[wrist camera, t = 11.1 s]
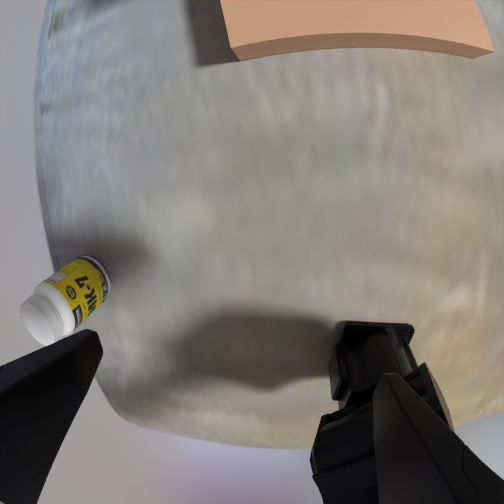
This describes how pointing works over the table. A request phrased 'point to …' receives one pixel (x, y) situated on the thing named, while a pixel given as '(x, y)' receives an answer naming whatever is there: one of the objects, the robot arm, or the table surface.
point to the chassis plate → (354, 26)
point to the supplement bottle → (65, 300)
